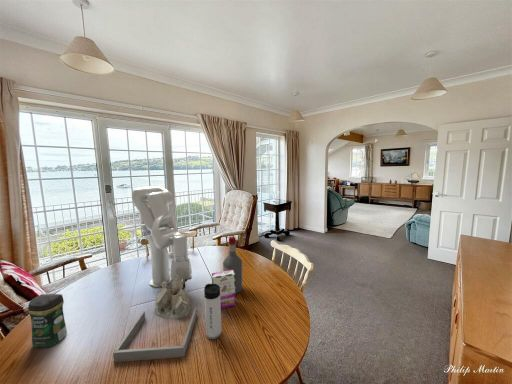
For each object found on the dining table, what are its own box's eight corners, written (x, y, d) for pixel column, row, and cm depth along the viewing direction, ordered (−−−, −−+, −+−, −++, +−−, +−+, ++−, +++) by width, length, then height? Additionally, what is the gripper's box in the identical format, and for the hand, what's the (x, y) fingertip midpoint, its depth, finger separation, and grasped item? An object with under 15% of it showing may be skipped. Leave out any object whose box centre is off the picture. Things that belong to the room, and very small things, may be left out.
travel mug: (214, 325, 88) (212, 280, 86) (224, 332, 84) (223, 286, 82) (202, 334, 83) (200, 287, 82) (212, 342, 79) (210, 293, 77)
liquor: (230, 296, 109) (229, 241, 106) (222, 289, 116) (220, 237, 113) (244, 290, 114) (243, 237, 112) (235, 283, 121) (234, 234, 119)
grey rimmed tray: (143, 318, 93) (142, 311, 92) (197, 315, 95) (196, 308, 94) (113, 362, 71) (113, 352, 71) (184, 356, 73) (183, 347, 73)
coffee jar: (27, 349, 77) (21, 302, 76) (49, 332, 85) (44, 290, 84) (52, 349, 77) (46, 302, 75) (71, 333, 85) (67, 290, 83)
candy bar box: (234, 299, 106) (233, 269, 104) (236, 306, 101) (235, 274, 99) (212, 303, 103) (211, 272, 101) (213, 310, 98) (212, 277, 96)
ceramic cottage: (155, 304, 103) (154, 276, 101) (189, 297, 109) (189, 271, 107) (152, 327, 89) (151, 295, 87) (191, 318, 95) (191, 288, 93)
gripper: (163, 261, 107) (165, 294, 108) (193, 259, 108) (194, 292, 110) (168, 255, 114) (170, 286, 116) (196, 254, 115) (197, 285, 117)
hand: (182, 289), depth 113 cm, fingers closed
